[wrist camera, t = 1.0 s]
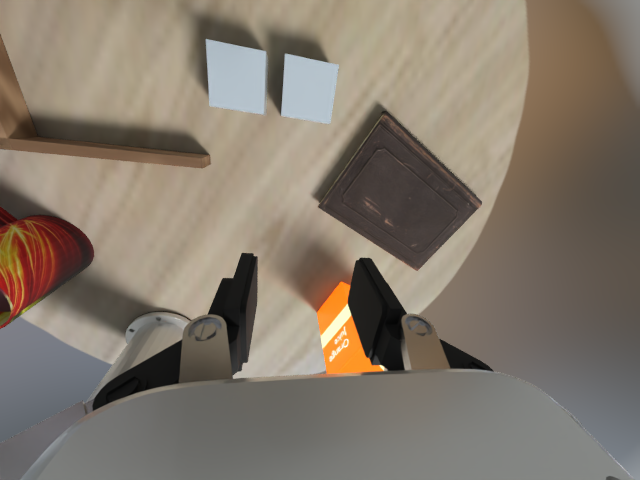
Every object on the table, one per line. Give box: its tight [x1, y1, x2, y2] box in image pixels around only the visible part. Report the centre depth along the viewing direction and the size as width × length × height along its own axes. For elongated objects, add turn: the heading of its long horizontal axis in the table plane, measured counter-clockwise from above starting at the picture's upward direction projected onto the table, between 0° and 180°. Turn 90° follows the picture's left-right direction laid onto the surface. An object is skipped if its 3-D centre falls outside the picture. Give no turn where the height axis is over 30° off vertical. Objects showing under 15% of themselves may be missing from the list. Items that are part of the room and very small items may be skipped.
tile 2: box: [206, 39, 268, 115], centre depth 27 cm, size 6×6×4 cm
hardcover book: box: [318, 111, 482, 271], centre depth 38 cm, size 16×23×2 cm
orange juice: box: [317, 282, 384, 374], centre depth 38 cm, size 8×9×20 cm
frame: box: [0, 35, 211, 168], centre depth 25 cm, size 20×21×4 cm
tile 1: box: [281, 54, 339, 124], centre depth 29 cm, size 6×6×4 cm
